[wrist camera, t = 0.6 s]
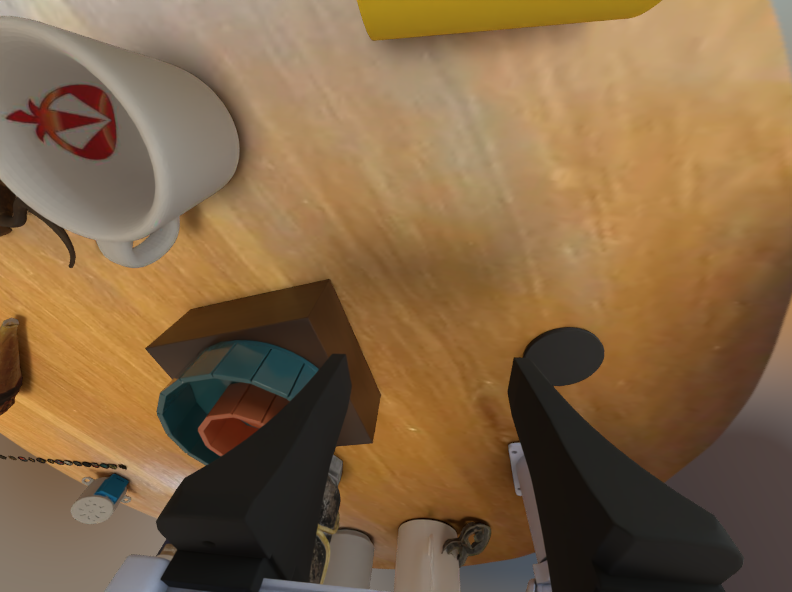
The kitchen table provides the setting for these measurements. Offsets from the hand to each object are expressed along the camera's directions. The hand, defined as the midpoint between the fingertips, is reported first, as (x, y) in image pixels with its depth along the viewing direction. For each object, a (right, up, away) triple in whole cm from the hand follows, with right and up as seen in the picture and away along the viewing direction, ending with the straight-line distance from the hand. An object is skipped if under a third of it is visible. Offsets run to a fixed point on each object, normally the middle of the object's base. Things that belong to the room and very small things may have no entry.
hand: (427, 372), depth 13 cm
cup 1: (-14, +12, +6) cm, 20 cm away
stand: (-11, -2, +14) cm, 18 cm away
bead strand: (-48, -20, +30) cm, 60 cm away
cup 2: (+3, -28, +29) cm, 41 cm away
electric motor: (-40, -22, +29) cm, 54 cm away
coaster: (+12, -2, +12) cm, 17 cm away
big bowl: (-11, -5, +10) cm, 16 cm away
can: (-8, -34, +34) cm, 48 cm away
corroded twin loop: (+7, -29, +27) cm, 40 cm away
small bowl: (-11, -5, +10) cm, 16 cm away
